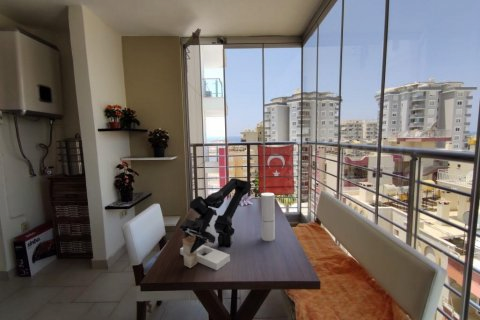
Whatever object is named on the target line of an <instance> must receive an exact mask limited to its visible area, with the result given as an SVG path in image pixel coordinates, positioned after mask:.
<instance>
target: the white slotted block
mask: <svg viewBox="0 0 480 320" xmlns="http://www.w3.org/2000/svg"><path fill="white" fill-rule="evenodd" d="M179 249H180V250H179V253H180V255H181V256H183V257H184V253H183V246H182V247H181V248H179ZM196 251H197V263H199V264H202V265H204V266H205V267H209V268H211V269H212V270H215V271H218V270H220V269H221V268H222V267H224V266H226V264H228V263H230V261H231V255H230V254H229V253H226V252H224V251H221V250H218V249H216V248H212V247H211V246H208V245H205V244H203V245H202V246H200V247H199V248H198V249H197V250H196ZM203 254H205V255H203Z"/></svg>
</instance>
